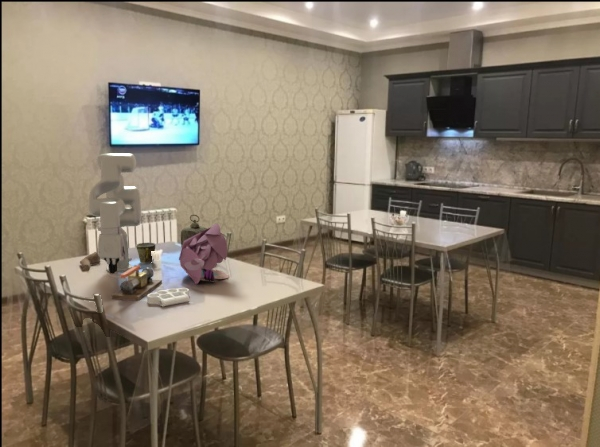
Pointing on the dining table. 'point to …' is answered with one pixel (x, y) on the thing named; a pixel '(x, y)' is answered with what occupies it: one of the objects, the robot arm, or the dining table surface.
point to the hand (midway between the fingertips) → (113, 272)
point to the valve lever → (130, 271)
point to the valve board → (138, 291)
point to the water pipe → (136, 281)
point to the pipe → (90, 260)
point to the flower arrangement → (204, 255)
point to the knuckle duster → (169, 297)
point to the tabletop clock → (191, 230)
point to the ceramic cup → (145, 252)
